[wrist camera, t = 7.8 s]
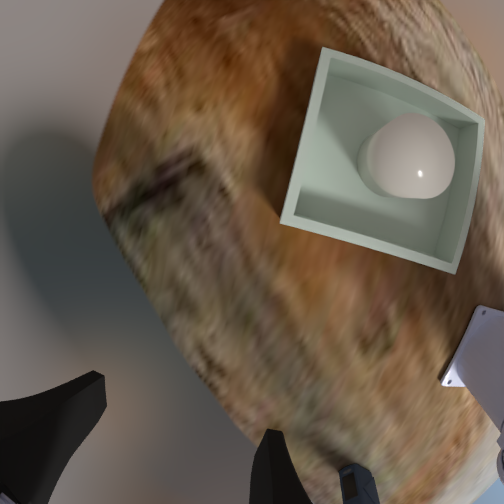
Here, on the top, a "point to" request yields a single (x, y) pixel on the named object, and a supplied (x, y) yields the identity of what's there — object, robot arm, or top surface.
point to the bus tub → (346, 172)
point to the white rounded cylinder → (407, 158)
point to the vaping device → (358, 486)
